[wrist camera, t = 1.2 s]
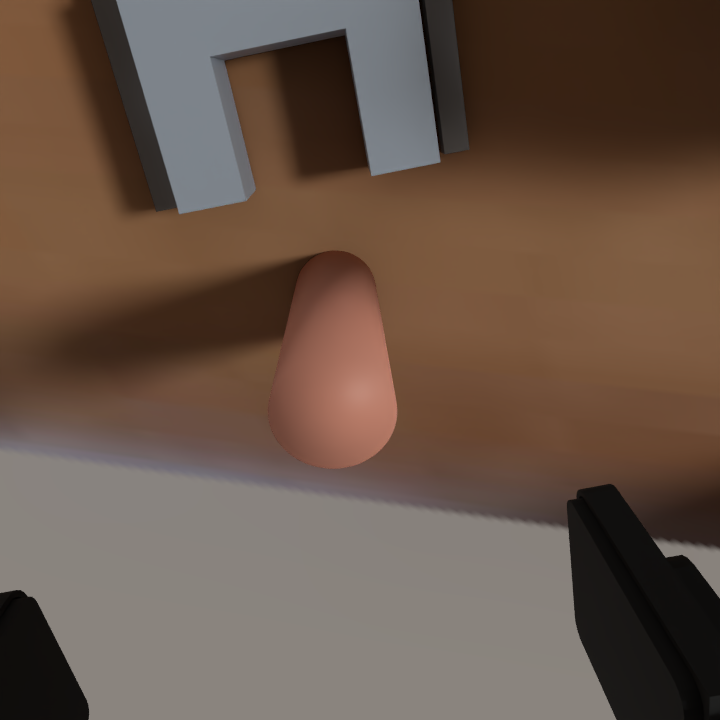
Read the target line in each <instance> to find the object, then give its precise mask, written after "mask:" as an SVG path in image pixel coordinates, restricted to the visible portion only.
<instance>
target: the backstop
mask: <svg viewBox="0 0 720 720" xmlns="http://www.w3.org/2000/svg"><path fill="white" fill-rule="evenodd" d="M91 2H92V5H93V8H94V11H95V15H96V18H97V21H98V24H99V27H100V31H101V34H102V37H103V40H104V44H105V47H106V50H107V53H108V57H109V60H110V63H111V66H112V70H113V73H114V76H115V79H116V82H117V86H118V89H119V92H120V95H121V99H122V102H123V105H124V108H125V112H126V115H127V118H128V121H129V125H130V128H131V131H132V134H133V137H134V141H135V144H136V147H137V150H138V154H139V157H140V160H141V163H142V167H143V170H144V173H145V176H146V179H147V183H148V186H149V189H150V192H151V196H152V199H153V202H154V205H155V209H156V212H157V211H162V210H167V209H172V208H177V204H176V201H175V197H174V194H173V191H172V187H171V184H170V181H169V177H168V174H167V170H166V167H165V164H164V160H163V157H162V154H161V150H160V147H159V143H158V140H157V137H156V133H155V130H154V126H153V123H152V120H151V116H150V113H149V110H148V106H147V103H146V99H145V96H144V93H143V89H142V86H141V83H140V79H139V76H138V72H137V69H136V66H135V62H134V59H133V55H132V52H131V49H130V45H129V42H128V39H127V35H126V32H125V28H124V25H123V22H122V18H121V15H120V12H119V8H118V5H117V1H116V0H91ZM421 3H422V11H423V18H424V26H425V33H426V41H427V48H428V56H429V63H430V71H431V79H432V86H433V94H434V101H435V109H436V116H437V124H438V131H439V139H440V147H441V152H442V153H443V154H449V153H454V152H459V151H464V150H469V141H468V133H467V124H466V115H465V107H464V98H463V90H462V81H461V72H460V64H459V55H458V46H457V38H456V29H455V21H454V12H453V3H452V0H421Z"/></svg>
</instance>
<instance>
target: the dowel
mask: <svg viewBox="0 0 720 720" xmlns="http://www.w3.org/2000/svg"><path fill="white" fill-rule="evenodd" d="M268 418H269V423H270V427H271V430H272V432H273V434H274V436H275V438H276V440H277V441H278V442H279V444H280V445H281V446H282V447H283V448H284V449H285V450H286V451H287V452H288V453H289V454H290V455H292V456H293V457H295V458H296V459H298V460H300V461H302V462H304V463H306V464H309V465H312V466H315V467H320V468H328V469H338V468H346V467H350V466H354V465H357V464H359V463H362V462H364V461H366V460H368V459H369V458H371V457H372V456H374V455H375V454H376V453H377V452H379V451H380V450H381V449H382V448H383V447H384V445H385V444H386V443H387V441H388V440H389V439H390V437H391V435H392V433H393V430H394V427H395V425H396V419H397V403H396V397H395V391H394V386H393V380H392V375H391V369H390V363H389V358H388V352H387V347H386V341H385V335H384V330H383V324H382V319H381V313H380V307H379V302H378V296H377V291H376V285H375V280H374V277H373V275H372V272H371V271H370V269H369V267H368V266H367V265H366V264H365V263H364V262H363V261H362V260H361V259H360V258H358V257H356V256H355V255H353V254H350V253H347V252H344V251H327V252H324V253H321V254H318V255H316V256H315V257H313V258H312V259H310V260H309V261H308V262H307V263H306V264H305V265H304V266H303V268H302V269H301V271H300V273H299V275H298V278H297V282H296V286H295V291H294V295H293V299H292V304H291V308H290V312H289V317H288V321H287V325H286V330H285V334H284V338H283V342H282V347H281V351H280V355H279V360H278V364H277V368H276V373H275V377H274V381H273V386H272V390H271V394H270V399H269V404H268Z"/></svg>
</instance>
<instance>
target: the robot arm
mask: <svg viewBox="0 0 720 720" xmlns="http://www.w3.org/2000/svg"><path fill="white" fill-rule="evenodd" d="M567 513H568V527H569V541H570V554H571V568H572V581H573V596H574V610H575V621H576V625H577V630H578V633H579V636H580V639H581V641H582V644H583V646H584V648H585V650H586V653H587V655H588V657H589V659H590V662H591V664H592V666H593V668H594V671H595V673H596V675H597V677H598V679H599V682H600V684H601V686H602V688H603V691H604V693H605V695H606V697H607V699H608V702H609V704H610V706H611V708H612V710H613V713H614V715H615V717H616V719H617V720H720V598H719V597H718V596H717V594H716V593H715V592H714V591H713V589H712V588H711V586H710V585H709V584H708V582H707V581H706V580H705V579H704V578H703V576H702V575H701V573H700V572H699V571H698V569H697V568H696V567H695V565H694V564H693V563H692V562H691V561H690V560H689V559H688V558H687V557H685V556H683V555H679V556H674V557H667V558H665V556H664V555H663V554H662V552H661V551H660V549H659V548H658V547H657V545H656V544H655V542H654V541H653V539H652V538H651V537H650V535H649V534H648V532H647V531H646V529H645V528H644V527H643V525H642V524H641V522H640V521H639V520H638V518H637V517H636V515H635V514H634V513H633V511H632V510H631V508H630V507H629V506H628V504H627V503H626V501H625V500H624V498H623V497H622V496H621V494H620V493H619V491H618V490H617V489H616V487H615V486H614V485H612V484H608V485H602V486H596V487H591V488H585V489H580V490H578V491H577V499H574V500H569V501H568V502H567ZM88 719H89V708H88V703H87V700H86V698H85V696H84V694H83V692H82V690H81V688H80V686H79V684H78V682H77V681H76V678H75V676H74V674H73V672H72V671H71V669H70V667H69V664H68V663H67V660H66V658H65V656H64V654H63V653H62V651H61V649H60V647H59V645H58V643H57V641H56V639H55V637H54V635H53V633H52V631H51V629H50V627H49V625H48V623H47V621H46V619H45V617H44V615H43V613H42V611H41V609H40V607H39V605H38V603H37V601H36V600H35V599H34V598H33V597H27V595H26V594H25V593H24V592H22V591H21V590H15V591H10V592H4V593H0V720H88Z"/></svg>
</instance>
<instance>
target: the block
mask: <svg viewBox="0 0 720 720" xmlns="http://www.w3.org/2000/svg"><path fill="white" fill-rule="evenodd" d="M116 1H117V5H118V8H119V12H120V15H121V18H122V22H123V25H124V28H125V32H126V35H127V39H128V42H129V45H130V49H131V52H132V55H133V59H134V62H135V66H136V69H137V72H138V76H139V79H140V83H141V86H142V89H143V93H144V96H145V99H146V103H147V106H148V110H149V113H150V116H151V120H152V123H153V126H154V130H155V133H156V137H157V140H158V143H159V147H160V150H161V154H162V157H163V160H164V164H165V167H166V170H167V174H168V177H169V181H170V184H171V187H172V191H173V194H174V197H175V201H176V204H177V208H178V211H179V214H182V213H187V212H192V211H197V210H202V209H207V208H213V207H218V206H223V205H228V204H233V203H238V202H243V201H247V199H248V198H249V197H250V196H251V195H252V194H253V192H254V191H255V190H256V188H255V184H254V179H253V175H252V171H251V167H250V163H249V159H248V155H247V151H246V147H245V143H244V139H243V135H242V131H241V127H240V122H239V118H238V114H237V110H236V106H235V102H234V98H233V94H232V90H231V86H230V82H229V78H228V74H227V70H226V66H225V61H224V60H229V59H234V58H238V57H243V56H248V55H253V54H257V53H262V52H267V51H272V50H277V49H281V48H286V47H291V46H296V45H301V44H305V43H310V42H315V41H320V40H325V39H329V38H334V37H339V36H344V35H345V38H346V43H347V49H348V55H349V60H350V66H351V72H352V77H353V83H354V89H355V94H356V100H357V106H358V111H359V117H360V123H361V128H362V134H363V140H364V145H365V151H366V157H367V162H368V168H369V170H370V173H371V176H374V175H379V174H384V173H389V172H394V171H400V170H405V169H410V168H415V167H420V166H425V165H430V164H435V163H440V155H439V148H438V141H437V133H436V126H435V118H434V111H433V103H432V96H431V88H430V81H429V73H428V66H427V58H426V51H425V43H424V36H423V28H422V21H421V13H420V6H419V0H116Z"/></svg>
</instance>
